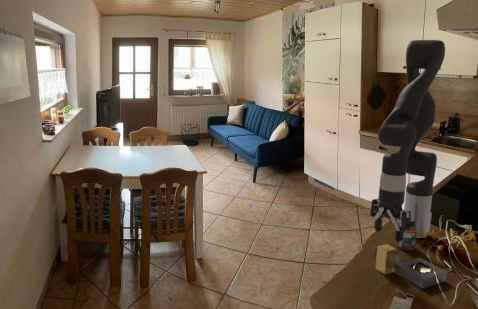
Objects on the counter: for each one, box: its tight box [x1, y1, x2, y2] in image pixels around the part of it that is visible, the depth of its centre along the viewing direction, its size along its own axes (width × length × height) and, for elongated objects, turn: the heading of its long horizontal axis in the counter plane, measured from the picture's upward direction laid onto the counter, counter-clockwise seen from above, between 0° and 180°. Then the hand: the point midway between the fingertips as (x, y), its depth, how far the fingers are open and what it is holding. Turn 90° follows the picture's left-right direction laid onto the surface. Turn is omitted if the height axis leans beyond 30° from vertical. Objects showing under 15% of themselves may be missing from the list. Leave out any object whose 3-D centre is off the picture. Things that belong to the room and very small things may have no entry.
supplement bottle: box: [397, 218, 417, 252], centre depth 143 cm, size 6×6×11 cm
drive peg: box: [375, 243, 397, 275], centre depth 128 cm, size 4×4×8 cm
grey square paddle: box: [375, 246, 448, 289], centre depth 129 cm, size 10×22×3 cm, turn 24°
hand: (387, 236), depth 126 cm, fingers open, 8 cm apart
